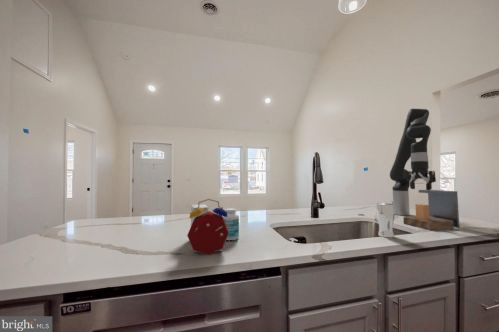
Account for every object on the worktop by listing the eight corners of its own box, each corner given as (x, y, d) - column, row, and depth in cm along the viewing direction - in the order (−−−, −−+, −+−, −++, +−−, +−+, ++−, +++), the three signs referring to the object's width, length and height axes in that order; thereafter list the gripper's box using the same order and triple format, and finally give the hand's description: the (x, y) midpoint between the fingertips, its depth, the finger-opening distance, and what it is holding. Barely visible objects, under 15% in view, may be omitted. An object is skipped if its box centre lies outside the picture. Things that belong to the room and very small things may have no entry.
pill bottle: (224, 242, 86) (224, 210, 86) (220, 237, 93) (220, 208, 93) (241, 240, 88) (241, 209, 89) (236, 235, 95) (236, 207, 96)
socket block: (403, 223, 116) (403, 216, 116) (425, 222, 119) (425, 215, 119) (429, 230, 102) (429, 222, 102) (453, 228, 105) (453, 220, 106)
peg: (416, 225, 112) (415, 204, 112) (422, 225, 113) (421, 203, 113) (424, 227, 108) (423, 205, 108) (429, 226, 109) (428, 204, 109)
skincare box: (190, 239, 90) (190, 204, 91) (204, 237, 93) (205, 204, 94) (192, 245, 82) (193, 207, 83) (208, 243, 85) (208, 206, 86)
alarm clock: (227, 247, 79) (227, 197, 80) (228, 256, 71) (228, 200, 72) (189, 250, 77) (190, 198, 78) (185, 259, 68) (186, 201, 69)
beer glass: (375, 236, 93) (374, 203, 94) (378, 232, 98) (377, 202, 99) (394, 239, 88) (392, 205, 89) (396, 235, 93) (394, 203, 94)
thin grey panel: (420, 222, 118) (418, 189, 119) (430, 221, 120) (429, 189, 121) (447, 228, 105) (445, 191, 106) (459, 227, 106) (457, 191, 107)
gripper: (401, 161, 119) (402, 188, 118) (427, 159, 105) (428, 190, 104) (412, 161, 120) (413, 188, 119) (438, 160, 106) (440, 190, 105)
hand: (420, 189), depth 112 cm, fingers open, 8 cm apart
